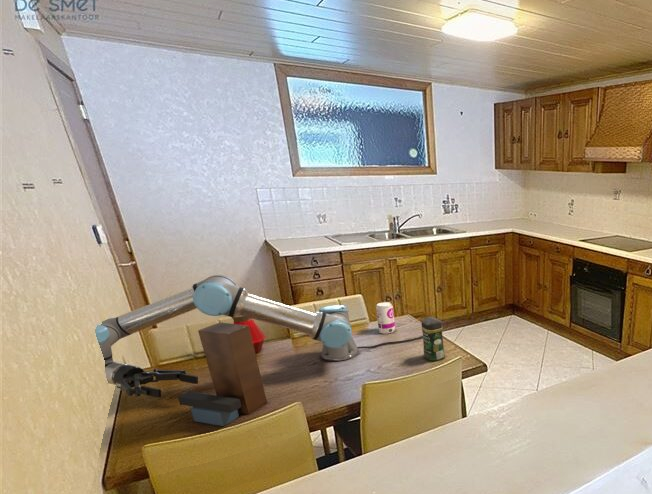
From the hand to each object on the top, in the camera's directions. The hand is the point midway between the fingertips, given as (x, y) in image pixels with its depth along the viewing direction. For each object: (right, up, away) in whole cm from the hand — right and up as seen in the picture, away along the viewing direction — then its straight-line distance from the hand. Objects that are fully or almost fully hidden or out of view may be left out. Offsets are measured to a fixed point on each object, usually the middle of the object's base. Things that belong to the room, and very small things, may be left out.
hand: (179, 386), depth 146 cm
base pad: (+14, -11, -1) cm, 18 cm away
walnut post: (+18, -8, +7) cm, 20 cm away
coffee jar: (+76, +7, +48) cm, 90 cm away
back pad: (+13, -6, -3) cm, 14 cm away
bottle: (-10, +9, +52) cm, 53 cm away
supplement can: (+45, +18, +77) cm, 91 cm away
